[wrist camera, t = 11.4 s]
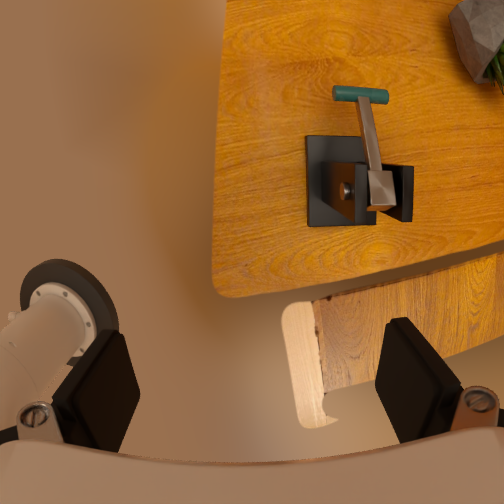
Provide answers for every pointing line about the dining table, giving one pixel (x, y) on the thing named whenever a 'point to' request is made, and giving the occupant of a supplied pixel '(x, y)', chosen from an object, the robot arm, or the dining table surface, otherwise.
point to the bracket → (348, 183)
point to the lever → (370, 144)
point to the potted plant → (480, 38)
